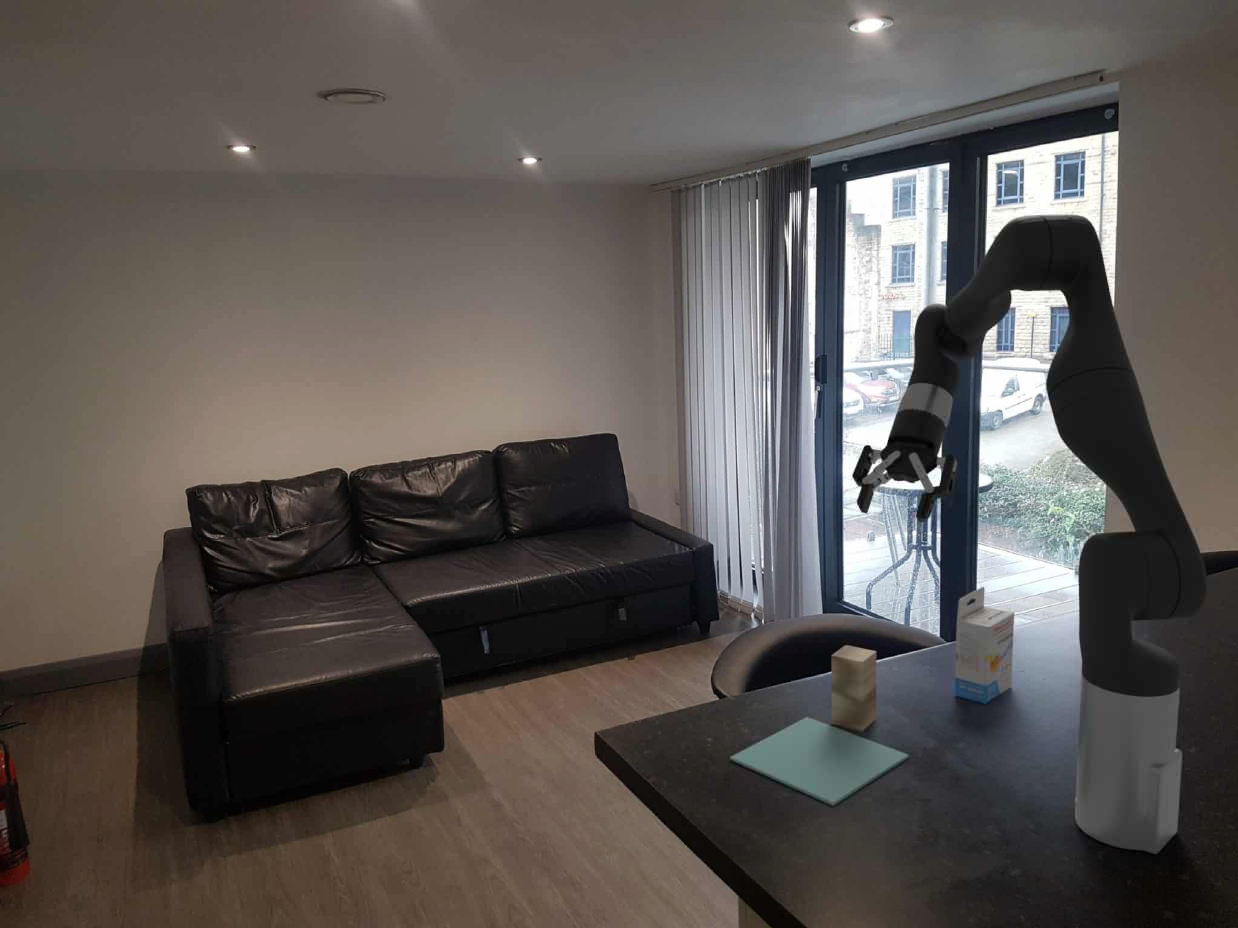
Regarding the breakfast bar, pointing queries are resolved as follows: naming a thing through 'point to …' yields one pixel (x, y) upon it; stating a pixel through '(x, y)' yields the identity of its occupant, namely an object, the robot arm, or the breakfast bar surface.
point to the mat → (820, 760)
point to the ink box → (983, 649)
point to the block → (854, 687)
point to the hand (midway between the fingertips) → (890, 515)
